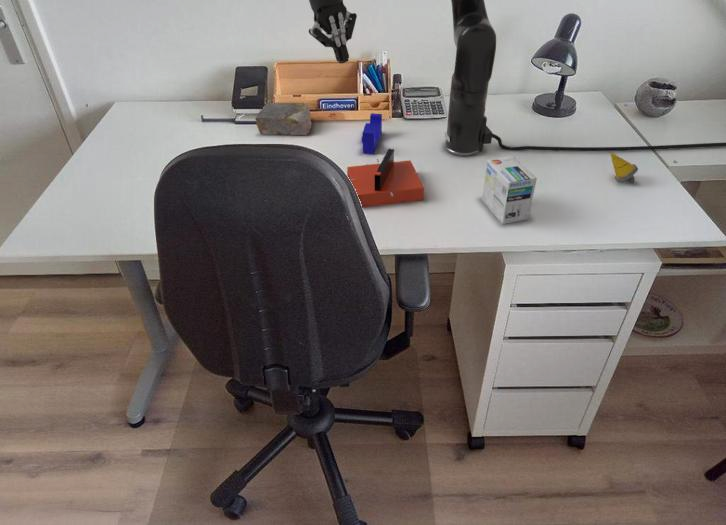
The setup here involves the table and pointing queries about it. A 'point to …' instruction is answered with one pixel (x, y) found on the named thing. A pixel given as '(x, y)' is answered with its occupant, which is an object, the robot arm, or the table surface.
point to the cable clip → (372, 133)
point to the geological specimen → (284, 119)
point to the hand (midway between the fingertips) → (344, 62)
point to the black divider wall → (384, 169)
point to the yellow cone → (623, 169)
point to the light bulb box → (508, 189)
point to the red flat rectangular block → (387, 184)
